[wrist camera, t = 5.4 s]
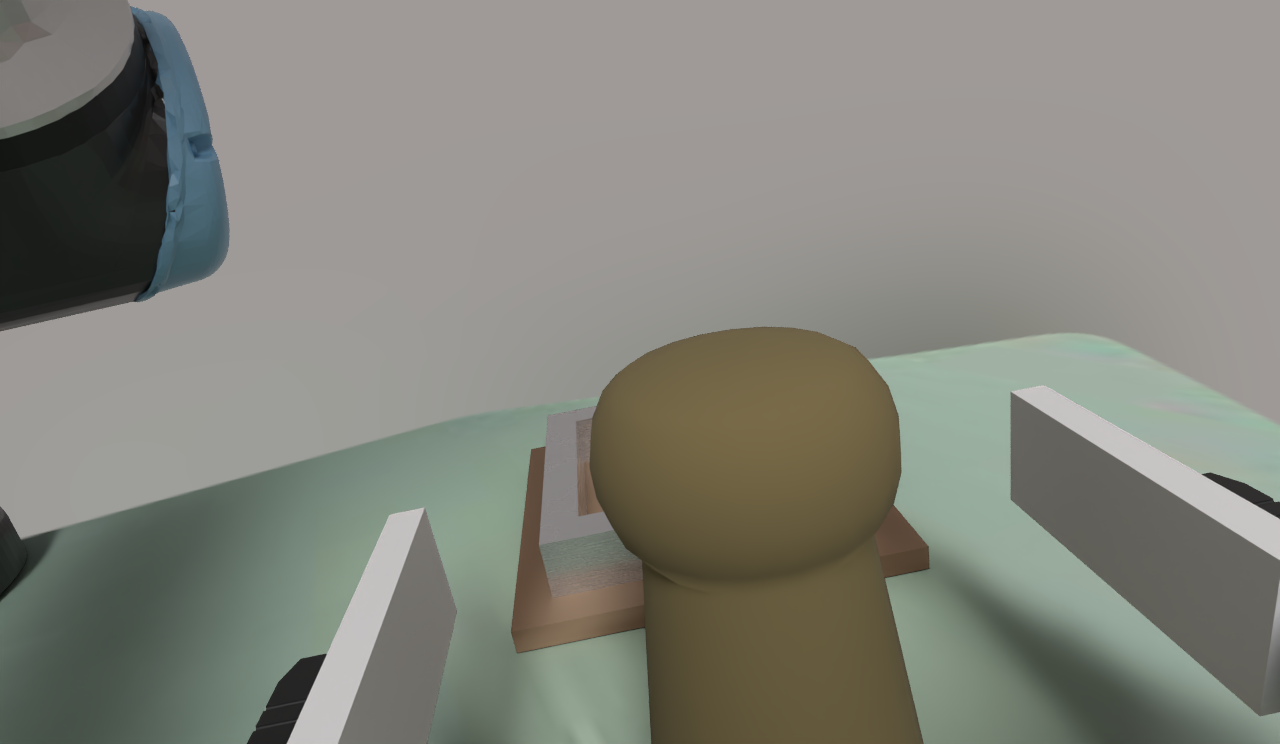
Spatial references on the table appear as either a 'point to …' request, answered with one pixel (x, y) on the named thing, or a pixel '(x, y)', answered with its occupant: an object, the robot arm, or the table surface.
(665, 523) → the cork
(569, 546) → the coaster
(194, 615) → the table surface
